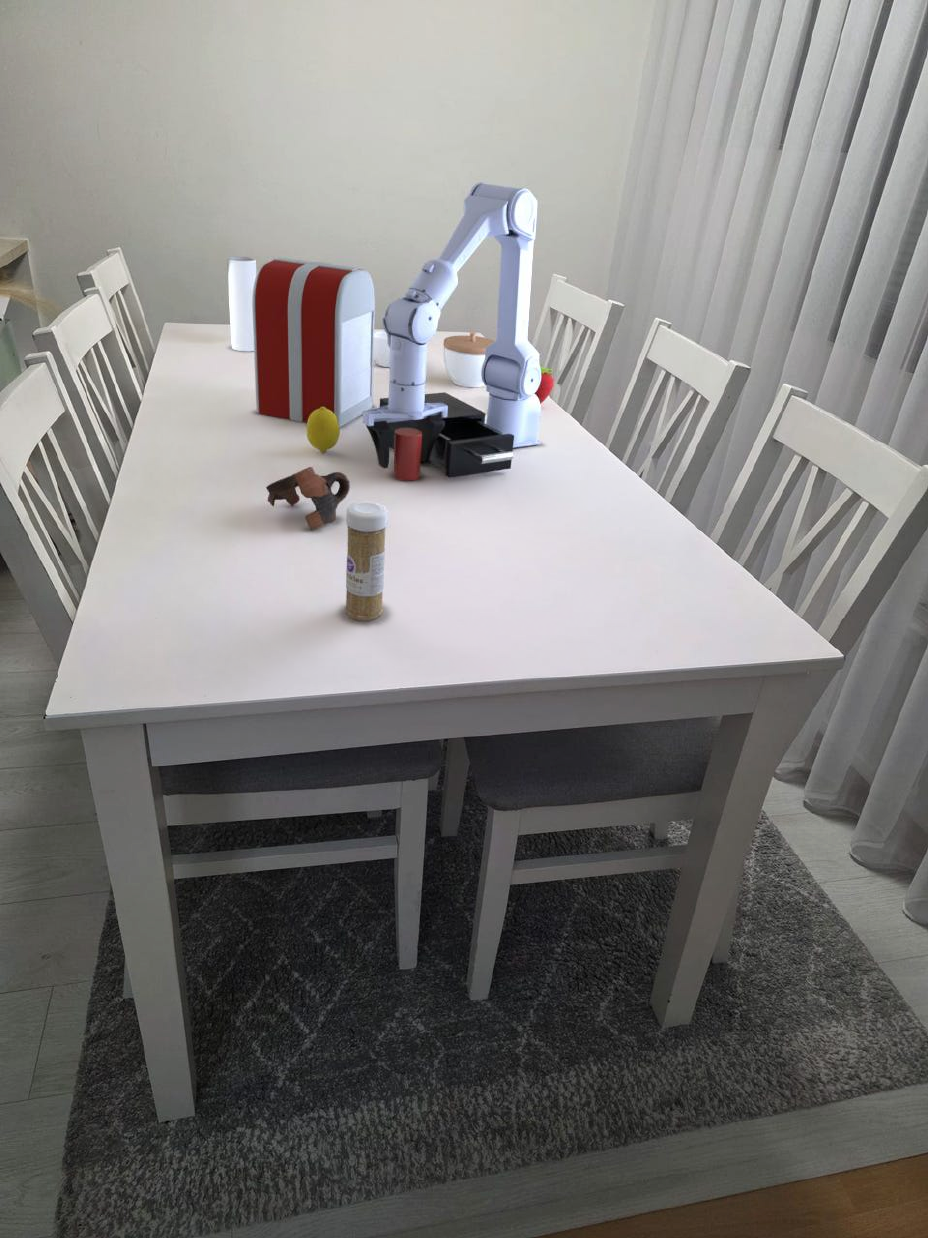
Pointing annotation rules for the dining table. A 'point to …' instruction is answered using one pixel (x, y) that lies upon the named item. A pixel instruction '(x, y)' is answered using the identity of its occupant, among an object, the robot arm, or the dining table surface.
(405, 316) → the robot arm
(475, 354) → the lidded bowl
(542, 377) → the strawberry
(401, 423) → the warmer
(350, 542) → the sprinkles bottle
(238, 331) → the vase
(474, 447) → the tray drawer
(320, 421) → the lemon
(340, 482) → the broken mug
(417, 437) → the spice tin
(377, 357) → the cup
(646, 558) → the dining table surface
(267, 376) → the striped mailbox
